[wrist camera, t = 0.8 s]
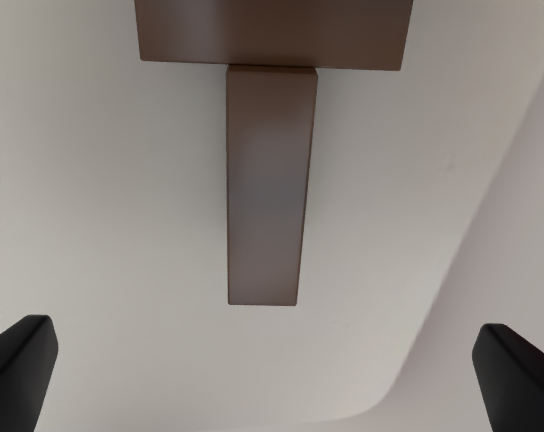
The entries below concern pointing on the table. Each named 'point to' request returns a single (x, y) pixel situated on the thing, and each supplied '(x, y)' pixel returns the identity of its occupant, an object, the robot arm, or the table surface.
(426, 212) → the table surface
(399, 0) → the brown t-shaped slab
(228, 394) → the table surface
